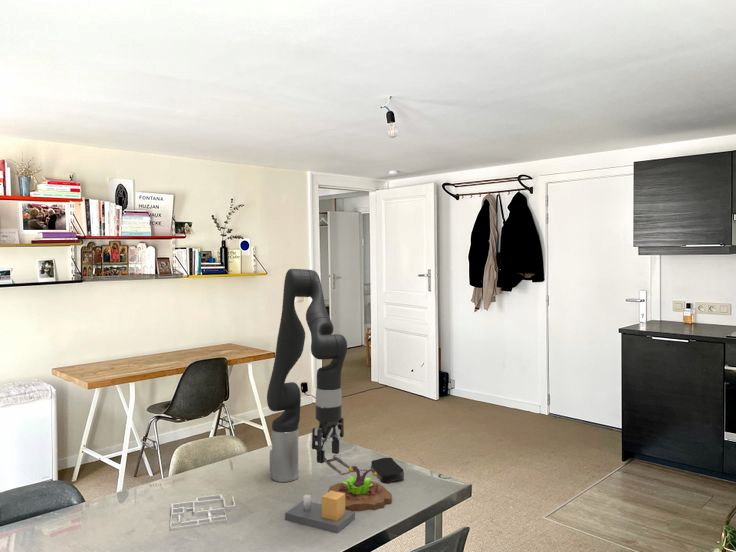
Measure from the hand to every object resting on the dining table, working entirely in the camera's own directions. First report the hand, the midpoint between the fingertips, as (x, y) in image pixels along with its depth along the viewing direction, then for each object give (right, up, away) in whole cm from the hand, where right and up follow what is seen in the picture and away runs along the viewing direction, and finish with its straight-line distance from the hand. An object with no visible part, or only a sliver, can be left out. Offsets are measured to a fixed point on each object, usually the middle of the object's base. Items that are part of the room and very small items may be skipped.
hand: (328, 457), depth 165 cm
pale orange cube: (+2, -17, 0) cm, 17 cm away
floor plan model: (-39, -19, +9) cm, 45 cm away
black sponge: (+18, -18, +37) cm, 45 cm away
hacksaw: (+2, -18, +47) cm, 50 cm away
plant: (+8, -19, +16) cm, 26 cm away
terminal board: (-2, -19, +2) cm, 19 cm away
